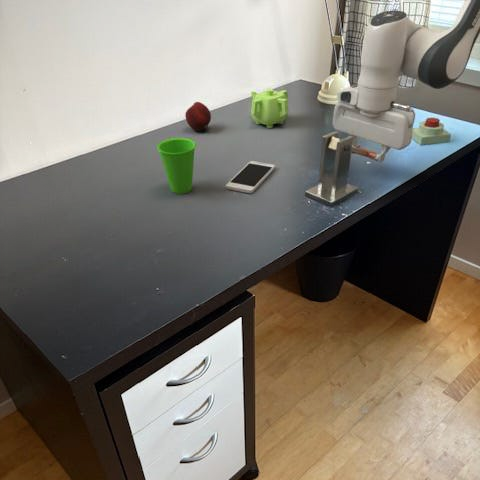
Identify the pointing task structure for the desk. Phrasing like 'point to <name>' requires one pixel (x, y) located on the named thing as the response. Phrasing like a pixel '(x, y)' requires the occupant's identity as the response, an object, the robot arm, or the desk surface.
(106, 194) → the desk surface
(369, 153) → the lever
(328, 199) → the bracket
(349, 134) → the robot arm
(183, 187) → the cup
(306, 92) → the desk surface
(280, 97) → the green pot with handles
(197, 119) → the apple
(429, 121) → the button
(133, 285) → the desk surface
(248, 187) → the smartphone
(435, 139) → the control block
